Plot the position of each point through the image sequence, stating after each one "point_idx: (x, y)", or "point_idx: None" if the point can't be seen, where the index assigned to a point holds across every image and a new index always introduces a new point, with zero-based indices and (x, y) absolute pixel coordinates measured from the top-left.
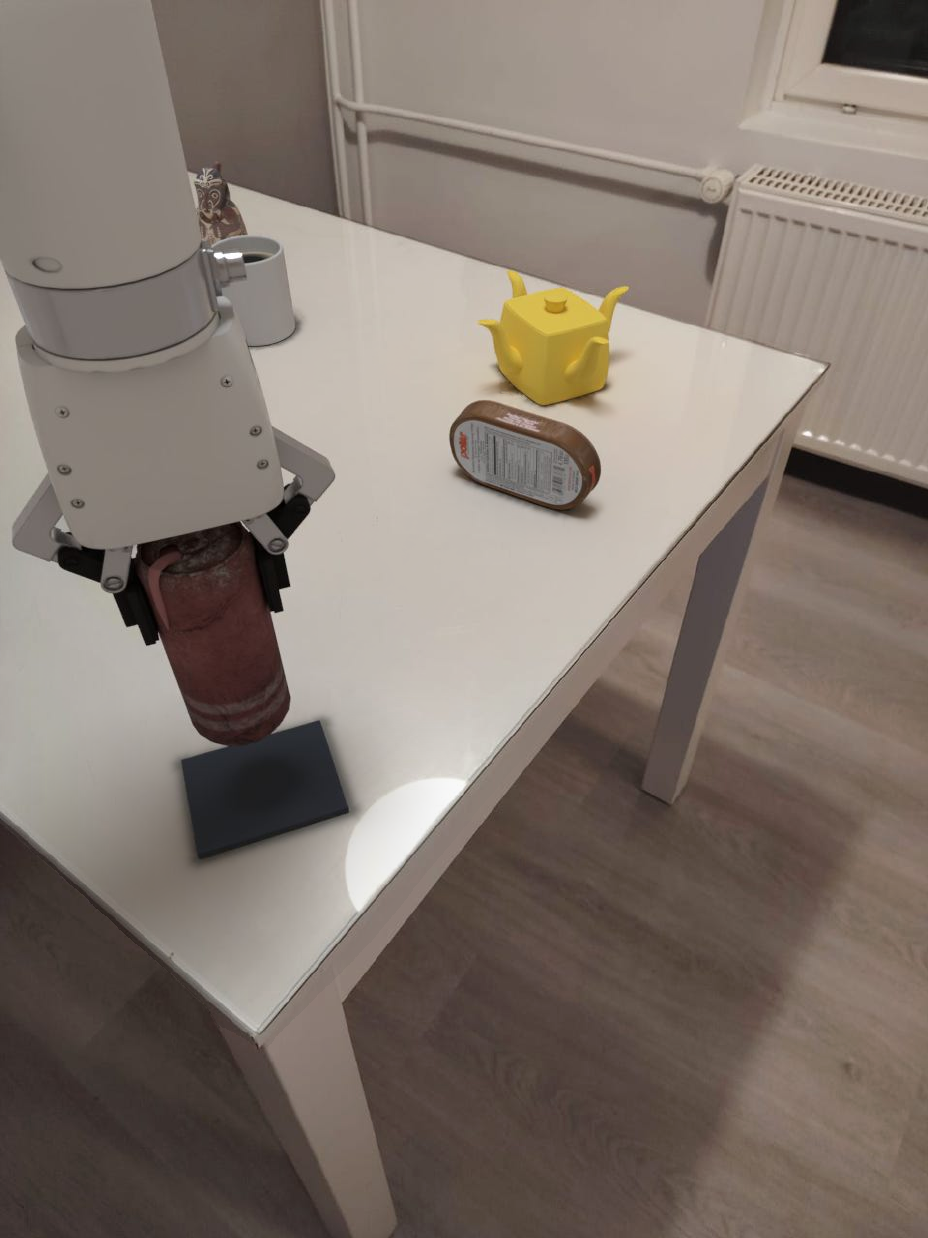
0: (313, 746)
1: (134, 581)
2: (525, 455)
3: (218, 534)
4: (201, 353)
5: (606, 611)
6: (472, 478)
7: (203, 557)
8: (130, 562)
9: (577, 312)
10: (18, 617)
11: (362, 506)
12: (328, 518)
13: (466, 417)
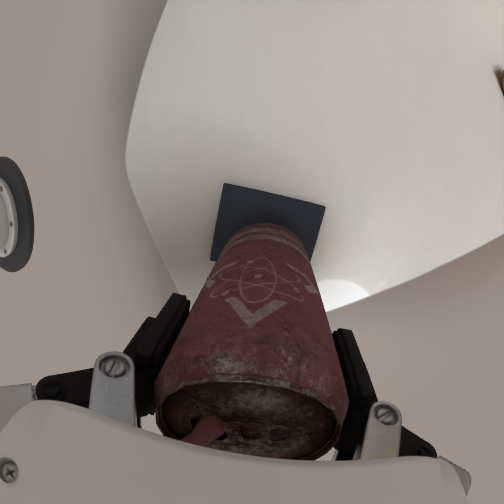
0: (310, 226)
1: (152, 403)
2: None
3: (292, 444)
4: None
5: (494, 237)
6: (502, 86)
7: (251, 450)
8: (147, 391)
9: None
10: (170, 4)
11: (440, 41)
12: (416, 31)
13: None
